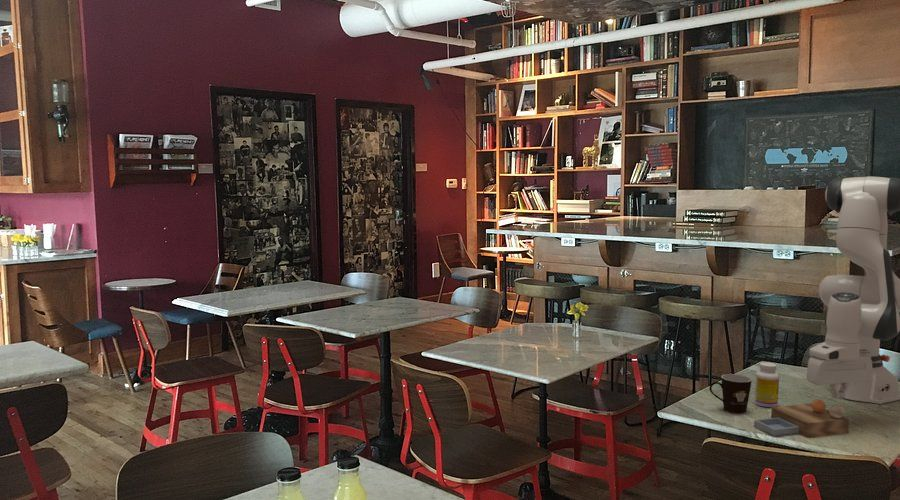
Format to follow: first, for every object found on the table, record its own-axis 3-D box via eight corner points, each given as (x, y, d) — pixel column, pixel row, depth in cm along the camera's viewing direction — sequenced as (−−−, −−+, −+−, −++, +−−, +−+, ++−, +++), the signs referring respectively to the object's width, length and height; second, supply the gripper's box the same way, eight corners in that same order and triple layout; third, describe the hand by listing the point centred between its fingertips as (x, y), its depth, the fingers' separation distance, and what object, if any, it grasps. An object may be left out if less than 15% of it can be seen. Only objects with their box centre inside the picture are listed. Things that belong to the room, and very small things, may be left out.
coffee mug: (750, 408, 224) (752, 376, 223) (749, 416, 216) (751, 383, 215) (710, 402, 229) (712, 371, 228) (708, 411, 221) (709, 378, 220)
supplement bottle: (779, 408, 223) (782, 367, 222) (756, 407, 225) (758, 366, 223) (774, 402, 230) (776, 362, 229) (752, 400, 231) (754, 360, 230)
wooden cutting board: (810, 416, 216) (811, 403, 216) (848, 432, 203) (849, 418, 203) (770, 420, 212) (771, 407, 212) (806, 437, 199) (807, 423, 199)
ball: (818, 409, 210) (819, 397, 210) (828, 413, 207) (829, 401, 207) (808, 410, 209) (809, 398, 209) (817, 414, 206) (818, 402, 206)
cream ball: (836, 415, 205) (837, 402, 205) (846, 419, 202) (847, 406, 202) (826, 416, 204) (826, 404, 204) (836, 420, 201) (836, 408, 201)
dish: (778, 424, 210) (778, 417, 209) (799, 434, 202) (799, 427, 202) (753, 426, 207) (754, 420, 207) (774, 436, 200) (774, 429, 199)
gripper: (862, 346, 214) (858, 392, 215) (804, 349, 208) (801, 396, 209) (880, 351, 208) (876, 398, 209) (821, 354, 202) (818, 403, 203)
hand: (838, 397), depth 209 cm, fingers closed
